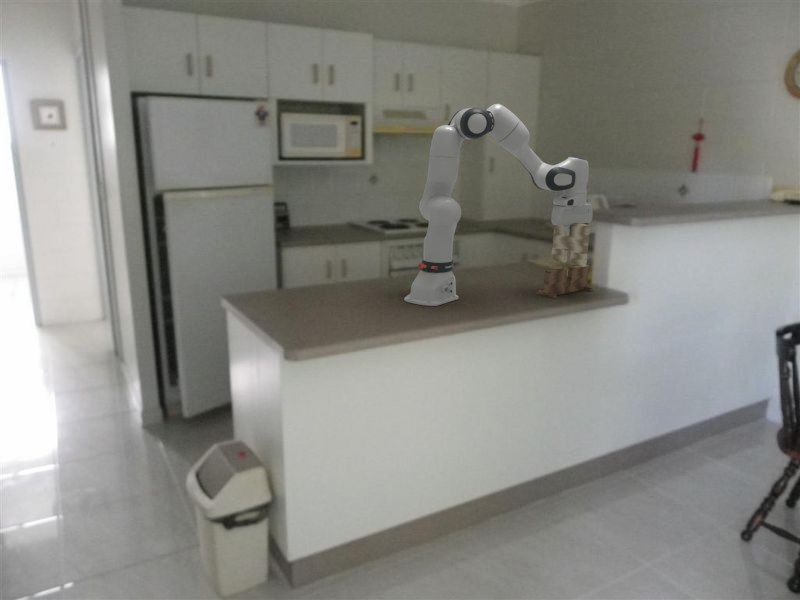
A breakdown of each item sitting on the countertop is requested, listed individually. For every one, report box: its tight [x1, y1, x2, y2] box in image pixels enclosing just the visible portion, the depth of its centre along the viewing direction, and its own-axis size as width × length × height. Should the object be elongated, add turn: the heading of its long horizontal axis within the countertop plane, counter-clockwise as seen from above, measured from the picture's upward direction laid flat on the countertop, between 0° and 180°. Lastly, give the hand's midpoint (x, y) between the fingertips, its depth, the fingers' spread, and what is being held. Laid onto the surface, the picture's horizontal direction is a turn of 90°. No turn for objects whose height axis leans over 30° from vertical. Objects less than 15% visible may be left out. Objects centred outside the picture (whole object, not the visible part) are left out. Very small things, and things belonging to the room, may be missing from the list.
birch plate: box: [551, 223, 591, 267], centre depth 236 cm, size 16×2×16 cm, turn 34°
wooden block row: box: [536, 264, 594, 300], centre depth 240 cm, size 24×8×10 cm, turn 124°
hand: (570, 235), depth 235 cm, fingers closed on birch plate, 2 cm apart
